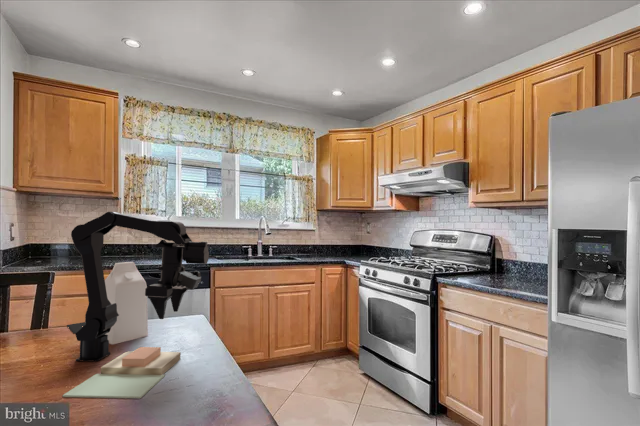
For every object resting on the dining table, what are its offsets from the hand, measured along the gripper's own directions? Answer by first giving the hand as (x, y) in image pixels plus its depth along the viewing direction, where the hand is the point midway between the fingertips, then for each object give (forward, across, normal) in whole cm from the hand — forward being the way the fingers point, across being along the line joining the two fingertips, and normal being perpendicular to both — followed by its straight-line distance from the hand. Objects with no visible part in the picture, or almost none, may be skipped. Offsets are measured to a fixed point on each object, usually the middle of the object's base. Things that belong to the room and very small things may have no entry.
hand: (168, 315), depth 107 cm
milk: (+13, +18, +24) cm, 33 cm away
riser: (+12, -8, +3) cm, 15 cm away
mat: (+12, -20, +3) cm, 24 cm away
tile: (+10, -8, +3) cm, 14 cm away
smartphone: (+14, +28, +46) cm, 56 cm away
